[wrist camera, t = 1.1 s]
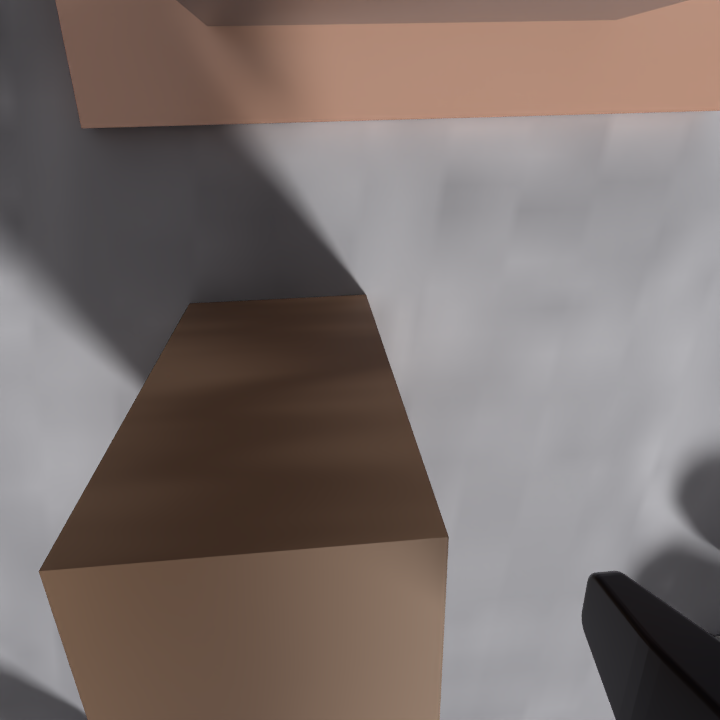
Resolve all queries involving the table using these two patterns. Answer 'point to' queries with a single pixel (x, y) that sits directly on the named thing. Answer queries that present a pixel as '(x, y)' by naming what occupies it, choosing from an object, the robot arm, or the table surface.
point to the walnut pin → (258, 531)
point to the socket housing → (385, 59)
